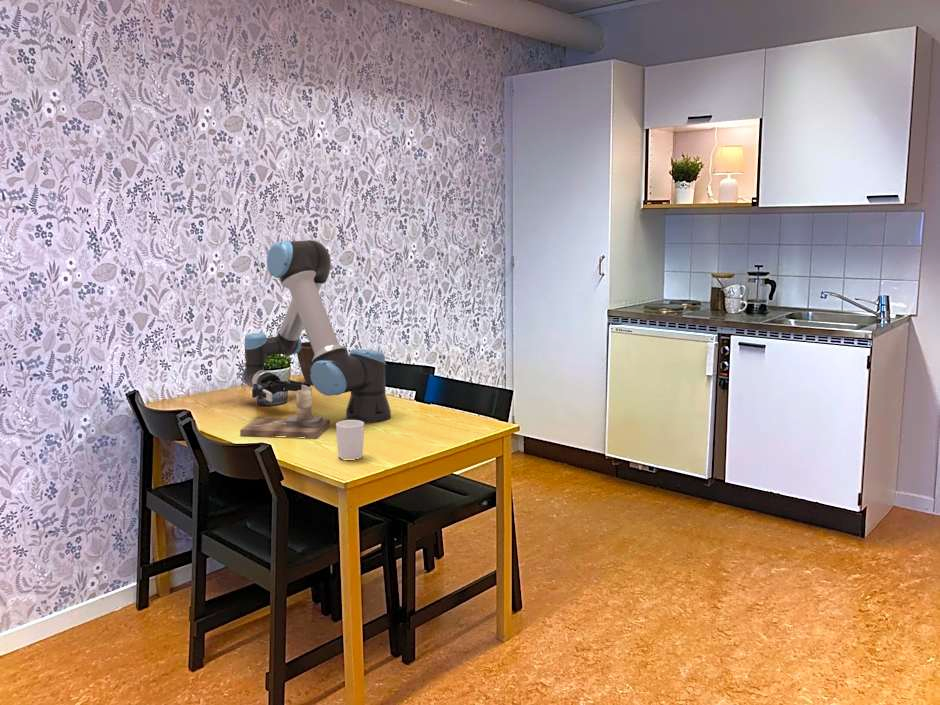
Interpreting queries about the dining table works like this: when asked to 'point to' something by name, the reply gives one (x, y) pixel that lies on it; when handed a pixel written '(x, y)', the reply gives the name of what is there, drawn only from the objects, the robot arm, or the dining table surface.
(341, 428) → the white cup
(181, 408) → the dining table surface
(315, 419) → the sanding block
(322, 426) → the walnut board
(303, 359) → the plant pot
